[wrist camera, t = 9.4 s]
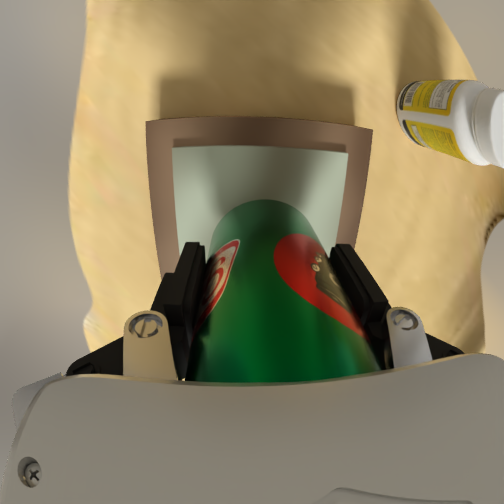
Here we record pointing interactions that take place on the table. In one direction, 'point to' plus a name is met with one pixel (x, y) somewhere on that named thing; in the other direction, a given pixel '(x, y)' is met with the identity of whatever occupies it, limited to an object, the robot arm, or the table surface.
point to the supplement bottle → (455, 119)
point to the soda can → (274, 304)
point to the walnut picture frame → (253, 175)
